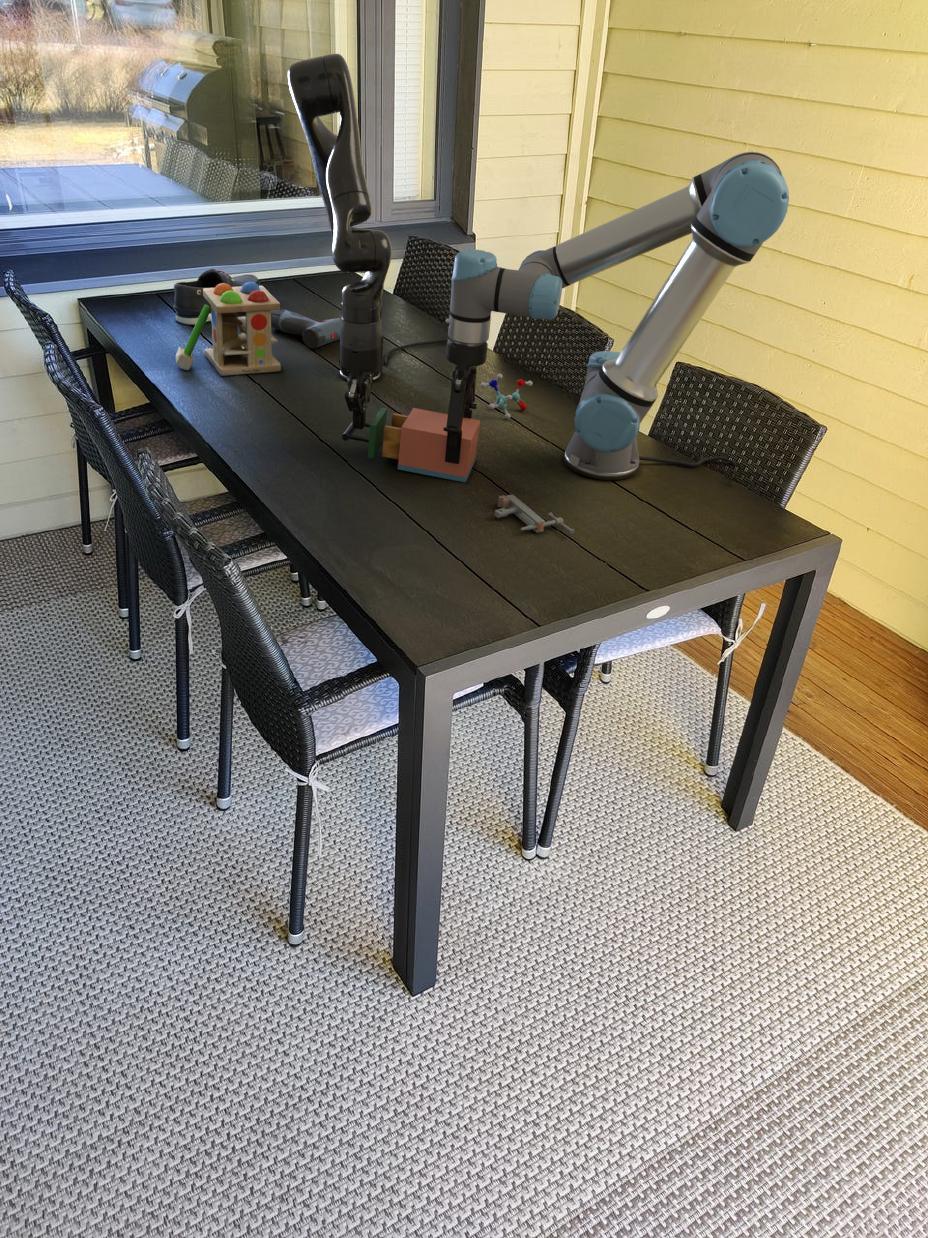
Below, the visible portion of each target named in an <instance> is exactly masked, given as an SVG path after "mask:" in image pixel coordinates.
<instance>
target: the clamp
mask: <svg viewBox="0 0 928 1238" xmlns="http://www.w3.org/2000/svg"><path fill="white" fill-rule="evenodd" d="M497 508H498V509H495V510H494V516H495V517H496V518H497V519H499V518H505V517H507V516H508V515H512V514H513V515H514V516H516V517H517V518H518V519H519V520H521V522H523V523H524V524H525V526H523V527H520V531H521V532H523V531H531V530H532V531H534V532H535V533H536V534H537V533H538V534H540V533H542V532H544V531H545V527H549V526H562V527H563V528H564V529H565V530H567V531H568V533H569V534H570V535H573V534H574V533H575V529H574V528H570V527H569V526H568V525H566V524H565V523H564V519H563V518H562V517H561V516H560V517H556V516H555V515H554V514H553V512H549V513H548V514H547V517H548V518H551V520H548V521H546V520H545V519H543V518H542V517H541V516H540V515H539V514H537V513H536V512H535V511H534V510H532V509H531V508H530V507H529V506H528V505H526V504H525V503H524V502H523V501H522V500H520V499H519V498H518V497H517V496H515V495H514V494H508V495H499V496H498V499H497ZM552 519H553V520H552Z"/></svg>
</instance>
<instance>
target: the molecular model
mask: <svg viewBox="0 0 928 1238" xmlns="http://www.w3.org/2000/svg"><path fill="white" fill-rule="evenodd" d="M503 377H504V376H503V374H502V373H498V374H497V375H496V378H495V379H492V380H490V382H485V381H482V382H481V383H480V387H481V388H482V389H485V388H486V387H487V386H488V387H489V386H490V387H491V388H493V389H494V391H495V393H496V394H497V396H496V401H495V402H493V403H490V404H488V409H489V410H494V409H495V410H496V408H499V410H503V412H504V418H505V419H507V420H509V419H511V418H512V417H511V416H512V415H511V413H508V410H507V405H508V404H507V403H508V402H509V401H511V400H513V401H515V402H516V403H517V405H518V406H519V410H521V411H523V412H525V411H526V410H527V408H528V406H527V404H525V403H524V402H523V400H522V399H521V398H520V397H521V396H520V393H519V392H520V389H521V387H523V386H524V385H527V386H528V387H532V386H533V381H532V380H528V381H524V380H523V379H522V378H519V379H517V380H516V385H517V387H516V390H515V391H514V392H512V394H507V395H506V396H505V395H504V394H502V393H500V391H499V389H498V382H499V380H502V379H503Z"/></svg>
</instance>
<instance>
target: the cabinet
mask: <svg viewBox="0 0 928 1238" xmlns="http://www.w3.org/2000/svg"><path fill="white" fill-rule="evenodd" d="M407 416H408V418H407V419H406V421H405V422H404V424H403V426H402V428H401V439H400V450H399V460H398V462H397V470H400V471H405V472H410V473H413V474H414V473H415V474H420V475H425V476H430V477H436V478H441V479H446V480H450V481H456V482H461V483H467V481H468V478H469V476H470V474H471V472H472V470H473V467H474V465H475V462H476V458H477V457H476V456H477V449H478V440H479V434H480V426H481V420H479V419H474V418H472V419H470V418H464V417H463V422H462V428H461V429H462V440H461V451H460V461H459V464H454V463H448V462H445V455H446V443H447V432H446V431H444V427H446V425H447V418H448V413H444V412H443V413H442V412H437V411H432V410H427V409H421V408H416V407H413V408H412V410H411V411H410V412H409V414H408V415H407Z"/></svg>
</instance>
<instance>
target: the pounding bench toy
mask: <svg viewBox="0 0 928 1238" xmlns="http://www.w3.org/2000/svg"><path fill="white" fill-rule="evenodd" d="M203 296H204V297H205V299H206V300H207V301H208V302H209V304H210V305H211V307H210V306H208V305H204V307H203V309H202V311H201V314H200V316H199V318H198V320H197V322H196V324H194V327H193V329H192V331H191V332H190V333H191V334H190V336H189V338H188V340H187V343H186V344H185V347H184V348H182V347H180V346H179V347H178V349H177V351H176V354H175V357H174V358H175V362H176V365H177V366H178V368H179V369H182V370H185V371H189V370H190V369H191V367H192V365H193V363H194V356H193V351H194V348H195V347H196V345H197V342H198V340H199V337H200V336H201V333H202V332H203V329H204V326H205V325H206V323H207V322H206V320H207V318H209V320H210V321H209V322H211V336H212V337H211V338H212V339H211V340H212V348H205V349H204V352H205V353H204V355H205V357H206V359H208V361H209V363H210V364H211V365H212V366H213V367H214V369H215V370H216V371H217V372H218V374H219V375H220V376H222V377H223V376H234V375H235V376H236V375H246V374H247V375H250V374H262V373H275V372H281V370H282V364H281V363H280V362H279V360H278V359H277V358H276V357H275V356H274V355H273V348H272V347H273V345H272V344H276V343H278V342H279V341H278V339H277V338H276V337H275V336H274V334H272V327H271V310H280V309H281V304H280V301H278V300H277V299H276V297H274V296H273V295H272V294H271V293H270V292H269V290H268V289H267V288H266V287H264V285H261V286H258V285H257V284H256V283H254V282H247V283H245V284H244V285H243V286H242V287H231V286H230V285H228V284H226V283H221V284H218V285H217V286H216V287H215V288H204V289H203ZM210 310H211V314H209V312H210ZM238 313H244V314H245V315H244V316H238ZM238 329H239V331H240V333H239V334H238Z"/></svg>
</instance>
